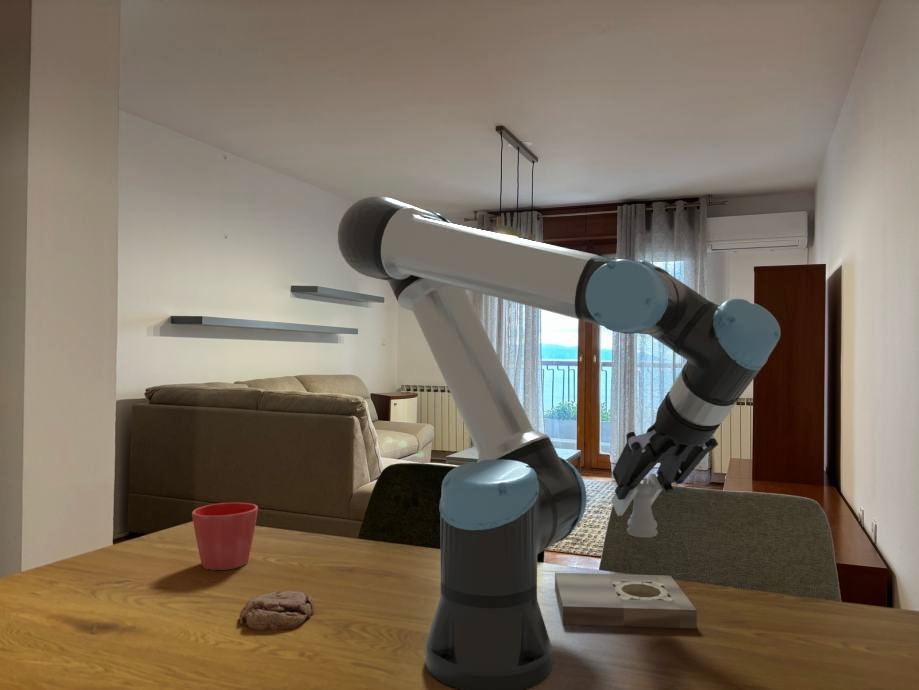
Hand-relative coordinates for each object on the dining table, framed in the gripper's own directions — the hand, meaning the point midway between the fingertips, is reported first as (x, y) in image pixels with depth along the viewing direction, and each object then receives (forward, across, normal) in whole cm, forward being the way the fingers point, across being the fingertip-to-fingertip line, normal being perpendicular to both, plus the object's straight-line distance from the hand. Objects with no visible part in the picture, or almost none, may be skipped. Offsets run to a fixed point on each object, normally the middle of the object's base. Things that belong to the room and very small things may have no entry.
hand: (628, 506), depth 101 cm
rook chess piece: (0, 0, +5) cm, 5 cm away
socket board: (+8, +3, +12) cm, 14 cm away
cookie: (+15, +51, +5) cm, 54 cm away
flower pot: (+34, +60, -14) cm, 70 cm away
